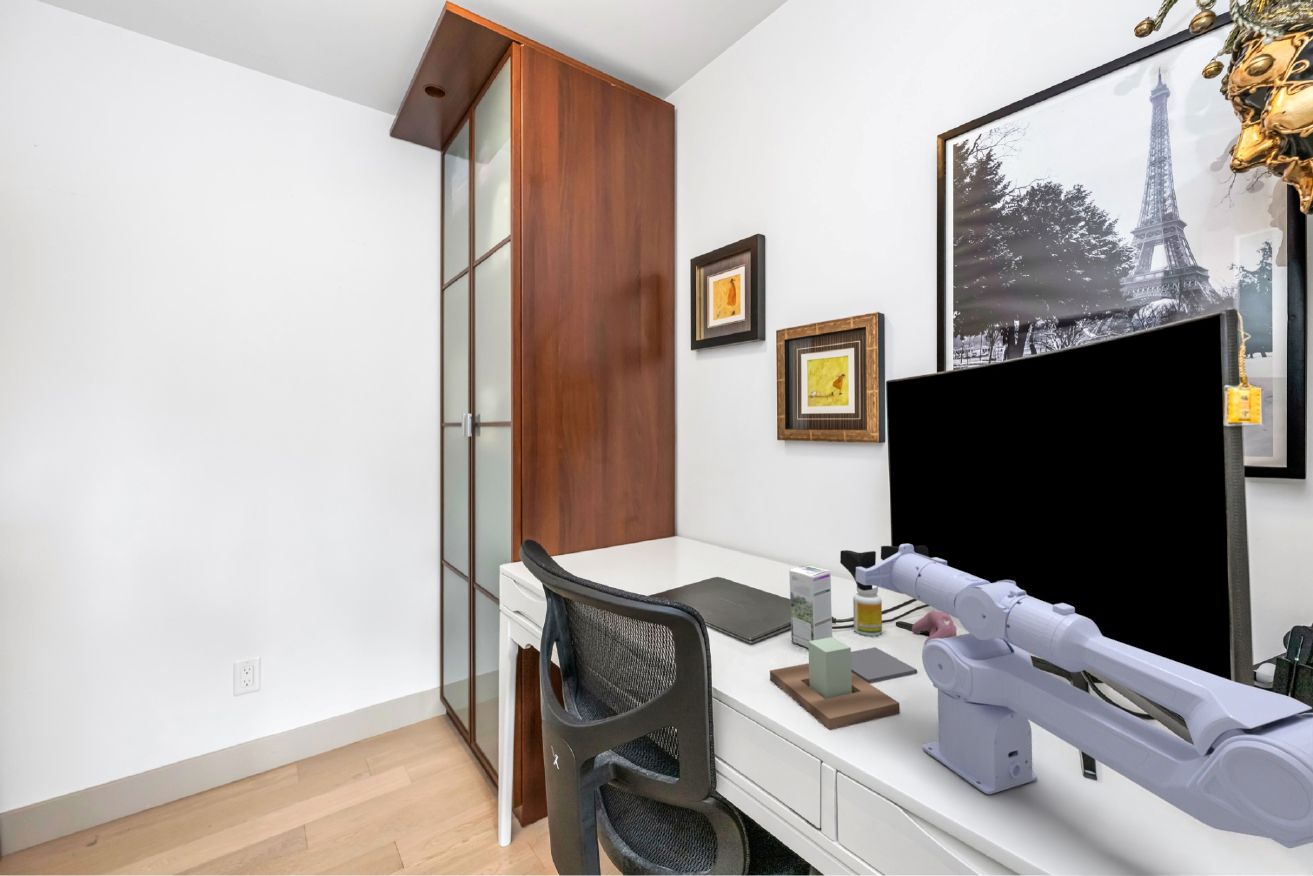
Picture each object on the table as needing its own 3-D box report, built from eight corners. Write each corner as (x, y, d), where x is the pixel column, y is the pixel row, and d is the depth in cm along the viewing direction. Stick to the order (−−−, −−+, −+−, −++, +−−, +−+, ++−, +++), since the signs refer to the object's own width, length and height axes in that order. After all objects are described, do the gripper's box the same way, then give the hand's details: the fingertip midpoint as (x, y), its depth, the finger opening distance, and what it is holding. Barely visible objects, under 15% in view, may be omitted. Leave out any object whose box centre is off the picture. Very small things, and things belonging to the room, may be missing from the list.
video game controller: (947, 661, 97) (965, 628, 96) (923, 649, 98) (941, 616, 97) (931, 640, 107) (947, 610, 106) (908, 629, 108) (925, 599, 107)
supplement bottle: (848, 628, 110) (847, 582, 110) (871, 625, 111) (870, 580, 111) (864, 638, 105) (863, 589, 105) (888, 635, 106) (887, 587, 106)
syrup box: (833, 644, 102) (832, 569, 102) (813, 652, 99) (811, 574, 99) (810, 635, 107) (808, 563, 107) (790, 643, 104) (788, 568, 103)
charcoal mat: (917, 673, 90) (917, 669, 90) (868, 683, 86) (868, 679, 86) (875, 650, 99) (875, 647, 99) (829, 658, 96) (829, 655, 96)
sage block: (851, 699, 82) (850, 647, 81) (827, 705, 80) (825, 652, 80) (833, 686, 86) (832, 637, 86) (809, 691, 84) (808, 641, 84)
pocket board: (899, 713, 77) (899, 702, 77) (829, 729, 74) (829, 718, 74) (830, 667, 92) (830, 659, 92) (770, 679, 89) (769, 670, 89)
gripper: (975, 548, 73) (900, 525, 86) (889, 559, 68) (824, 533, 81) (972, 598, 73) (899, 568, 86) (887, 612, 69) (823, 578, 82)
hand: (862, 554), depth 84 cm, fingers open, 7 cm apart
